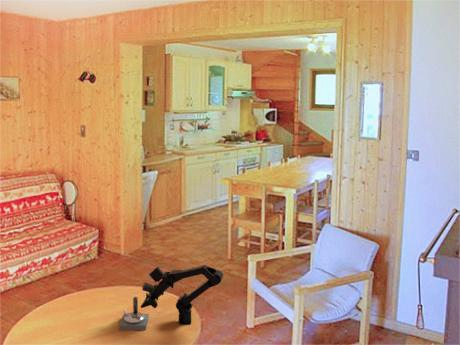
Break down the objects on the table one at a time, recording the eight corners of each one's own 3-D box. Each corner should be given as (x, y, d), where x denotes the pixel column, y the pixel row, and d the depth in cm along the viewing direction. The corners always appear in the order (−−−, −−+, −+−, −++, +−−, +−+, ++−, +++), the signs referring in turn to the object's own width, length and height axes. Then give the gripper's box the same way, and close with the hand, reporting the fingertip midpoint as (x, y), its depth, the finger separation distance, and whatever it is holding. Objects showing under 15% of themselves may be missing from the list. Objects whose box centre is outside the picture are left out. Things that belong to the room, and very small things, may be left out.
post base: (148, 317, 283) (148, 307, 282) (145, 329, 269) (145, 318, 268) (123, 317, 282) (123, 307, 281) (119, 329, 268) (119, 318, 267)
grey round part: (146, 312, 283) (146, 295, 281) (143, 323, 270) (143, 305, 268) (126, 312, 282) (126, 295, 280) (122, 323, 270) (122, 305, 268)
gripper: (150, 272, 286) (131, 291, 286) (151, 285, 267) (130, 305, 267) (164, 284, 288) (144, 303, 288) (165, 298, 270) (145, 318, 270)
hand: (141, 307), depth 279 cm, fingers closed
